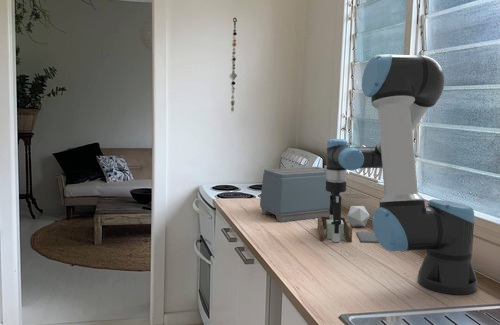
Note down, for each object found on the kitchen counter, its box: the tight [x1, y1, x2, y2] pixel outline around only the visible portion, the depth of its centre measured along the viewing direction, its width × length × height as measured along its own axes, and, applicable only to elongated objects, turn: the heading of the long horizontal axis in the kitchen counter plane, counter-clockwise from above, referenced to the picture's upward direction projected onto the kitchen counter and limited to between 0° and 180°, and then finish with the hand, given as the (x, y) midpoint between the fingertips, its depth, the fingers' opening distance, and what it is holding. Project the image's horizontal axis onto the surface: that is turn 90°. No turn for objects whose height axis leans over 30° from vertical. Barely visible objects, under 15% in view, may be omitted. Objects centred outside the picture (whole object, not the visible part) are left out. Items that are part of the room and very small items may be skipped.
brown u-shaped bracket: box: [317, 216, 353, 243], centre depth 178 cm, size 18×11×5 cm, turn 175°
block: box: [325, 220, 345, 241], centre depth 175 cm, size 6×6×6 cm
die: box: [346, 205, 371, 228], centre depth 192 cm, size 8×9×10 cm
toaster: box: [259, 166, 331, 223], centre depth 210 cm, size 19×35×20 cm, turn 116°
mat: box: [356, 231, 380, 244], centre depth 174 cm, size 12×12×1 cm
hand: (334, 236), depth 176 cm, fingers open, 13 cm apart
